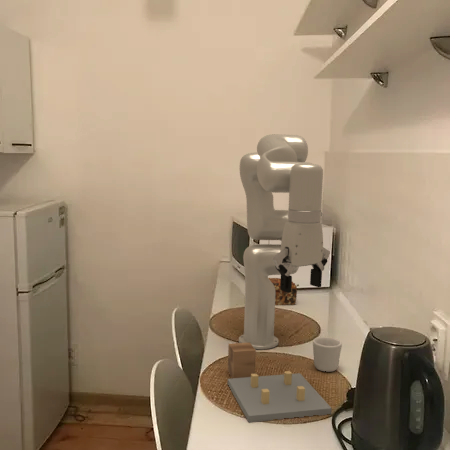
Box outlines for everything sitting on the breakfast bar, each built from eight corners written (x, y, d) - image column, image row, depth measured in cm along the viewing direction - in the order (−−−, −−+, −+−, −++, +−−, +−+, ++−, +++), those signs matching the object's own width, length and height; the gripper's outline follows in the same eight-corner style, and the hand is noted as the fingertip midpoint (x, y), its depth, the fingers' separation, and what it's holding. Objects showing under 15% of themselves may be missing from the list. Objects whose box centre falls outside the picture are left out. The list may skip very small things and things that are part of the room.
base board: (227, 384, 138) (228, 367, 137) (299, 378, 143) (300, 362, 142) (248, 422, 119) (249, 403, 118) (331, 414, 123) (332, 396, 123)
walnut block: (227, 371, 146) (228, 343, 145) (248, 370, 148) (249, 342, 146) (233, 380, 140) (233, 351, 139) (254, 379, 142) (255, 350, 141)
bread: (250, 306, 210) (251, 281, 208) (247, 298, 220) (247, 275, 219) (297, 306, 211) (298, 281, 210) (291, 298, 222) (292, 275, 220)
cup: (325, 358, 158) (326, 332, 157) (349, 365, 153) (351, 338, 152) (306, 368, 149) (307, 341, 148) (331, 376, 144) (333, 348, 143)
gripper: (319, 213, 131) (315, 280, 134) (265, 217, 121) (262, 289, 124) (342, 217, 125) (337, 287, 128) (287, 221, 115) (284, 297, 118)
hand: (300, 288), depth 126 cm, fingers open, 9 cm apart
